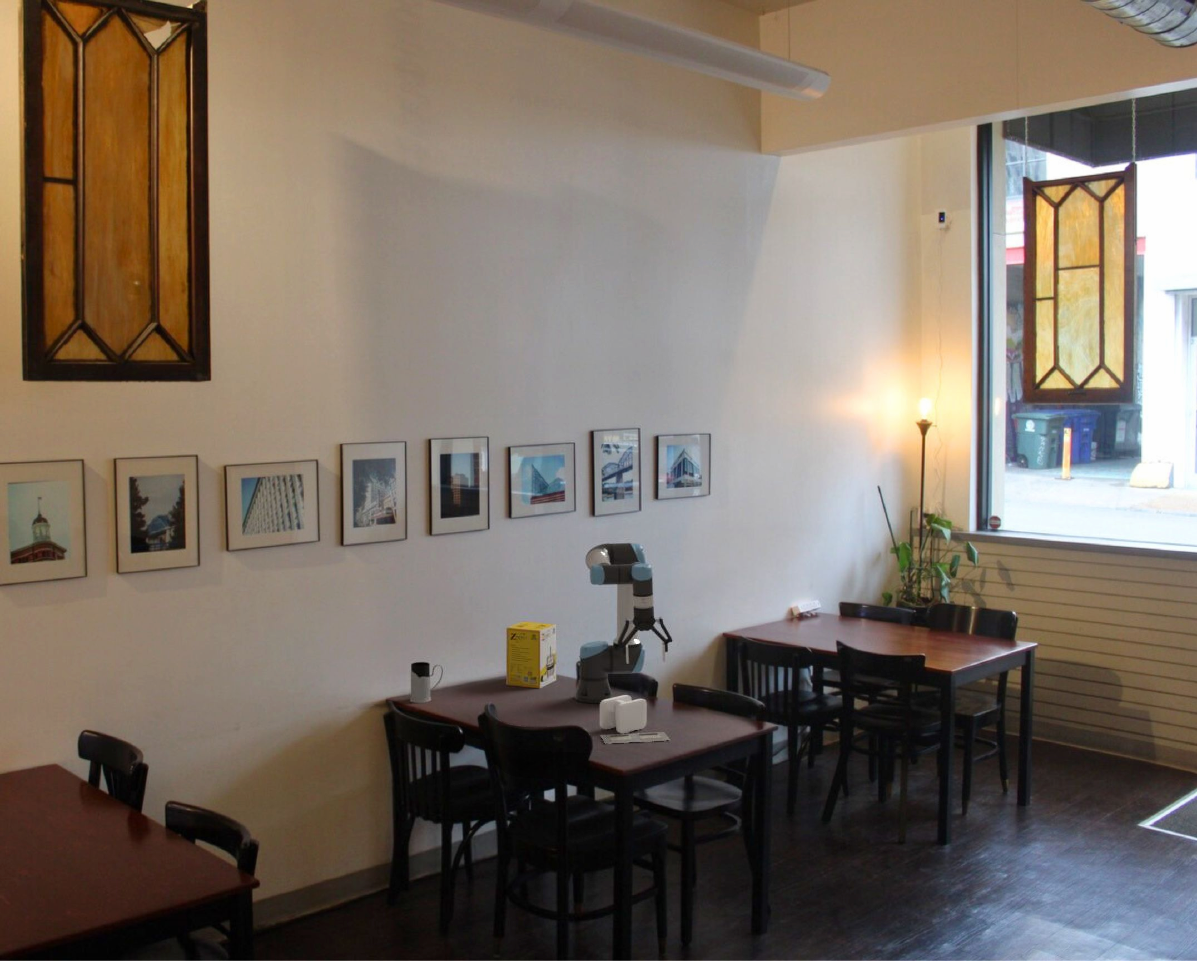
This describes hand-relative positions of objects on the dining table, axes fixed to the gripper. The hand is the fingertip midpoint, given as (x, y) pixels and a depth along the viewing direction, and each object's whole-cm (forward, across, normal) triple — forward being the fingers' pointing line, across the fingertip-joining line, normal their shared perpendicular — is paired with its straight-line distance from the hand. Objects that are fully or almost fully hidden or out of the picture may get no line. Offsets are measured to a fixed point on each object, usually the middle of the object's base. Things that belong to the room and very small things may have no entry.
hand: (645, 661), depth 422 cm
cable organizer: (+26, -10, 0) cm, 28 cm away
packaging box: (+30, -46, +73) cm, 91 cm away
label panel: (+25, -6, -12) cm, 28 cm away
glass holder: (+26, -89, +45) cm, 103 cm away
